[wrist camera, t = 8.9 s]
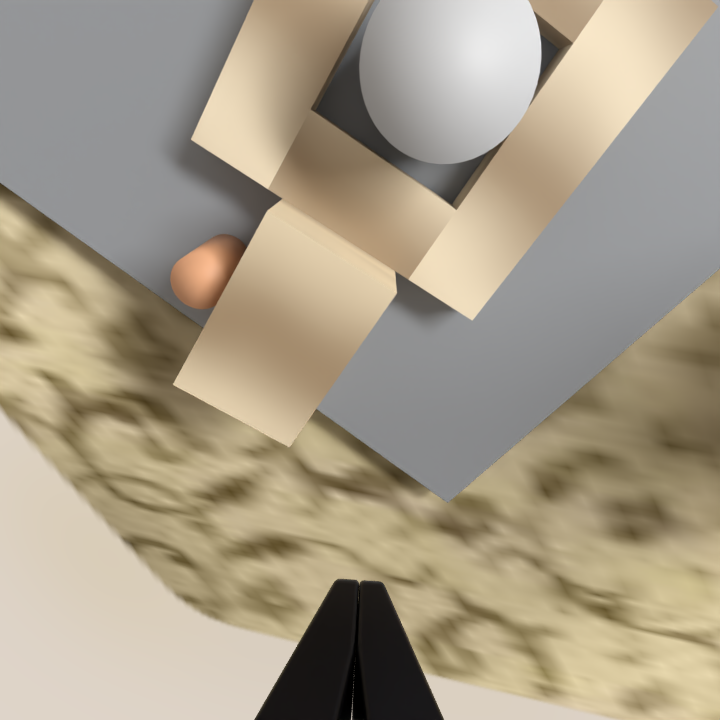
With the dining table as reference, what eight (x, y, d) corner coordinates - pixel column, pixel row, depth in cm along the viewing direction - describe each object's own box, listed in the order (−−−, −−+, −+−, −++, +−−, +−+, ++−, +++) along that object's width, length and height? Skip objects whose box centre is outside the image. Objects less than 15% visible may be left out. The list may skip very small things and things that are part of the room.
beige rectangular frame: (385, -254, 12) (386, -389, 9) (692, 15, 14) (783, -16, 11) (130, 296, 18) (77, 333, 15) (371, 431, 20) (369, 490, 17)
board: (967, 23, 15) (1235, -22, 10) (444, 484, 23) (461, 580, 18) (394, -844, 10) (407, -1746, 5) (-36, 136, 17) (-192, 141, 13)
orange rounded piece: (259, 254, 17) (236, 279, 15) (232, 289, 18) (206, 319, 15) (219, 223, 17) (188, 243, 14) (194, 260, 18) (160, 286, 15)
